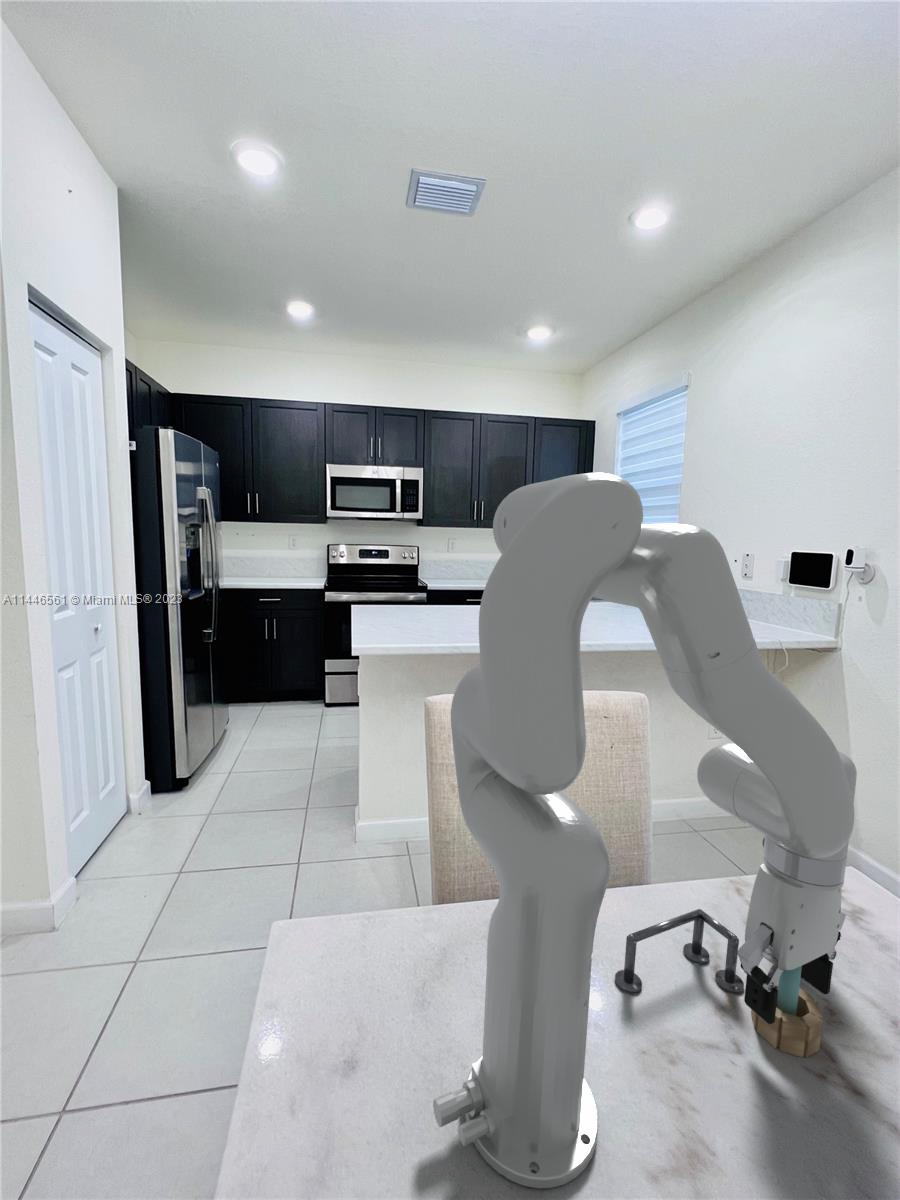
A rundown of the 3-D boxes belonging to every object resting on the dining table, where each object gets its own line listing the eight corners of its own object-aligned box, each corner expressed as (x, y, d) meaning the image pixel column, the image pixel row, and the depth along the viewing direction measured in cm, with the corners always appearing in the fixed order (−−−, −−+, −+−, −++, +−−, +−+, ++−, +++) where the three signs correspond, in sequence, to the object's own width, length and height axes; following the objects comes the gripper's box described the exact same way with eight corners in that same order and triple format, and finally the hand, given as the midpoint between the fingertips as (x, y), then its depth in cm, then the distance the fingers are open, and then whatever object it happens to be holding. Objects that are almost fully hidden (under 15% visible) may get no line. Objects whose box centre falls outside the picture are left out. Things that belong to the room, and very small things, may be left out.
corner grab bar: (659, 1031, 60) (664, 979, 60) (609, 977, 68) (612, 929, 67) (749, 988, 67) (754, 940, 66) (694, 943, 74) (698, 899, 74)
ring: (739, 1016, 63) (742, 988, 62) (775, 998, 66) (778, 971, 65) (794, 1065, 57) (798, 1034, 57) (830, 1043, 60) (834, 1013, 59)
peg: (788, 1046, 59) (797, 971, 58) (761, 1022, 62) (769, 950, 61) (806, 1035, 61) (815, 962, 60) (779, 1012, 64) (786, 942, 63)
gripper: (815, 825, 66) (801, 953, 68) (719, 855, 59) (705, 998, 61) (886, 858, 59) (867, 999, 61) (786, 897, 52) (769, 1056, 54)
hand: (787, 998), depth 61 cm, fingers open, 9 cm apart
